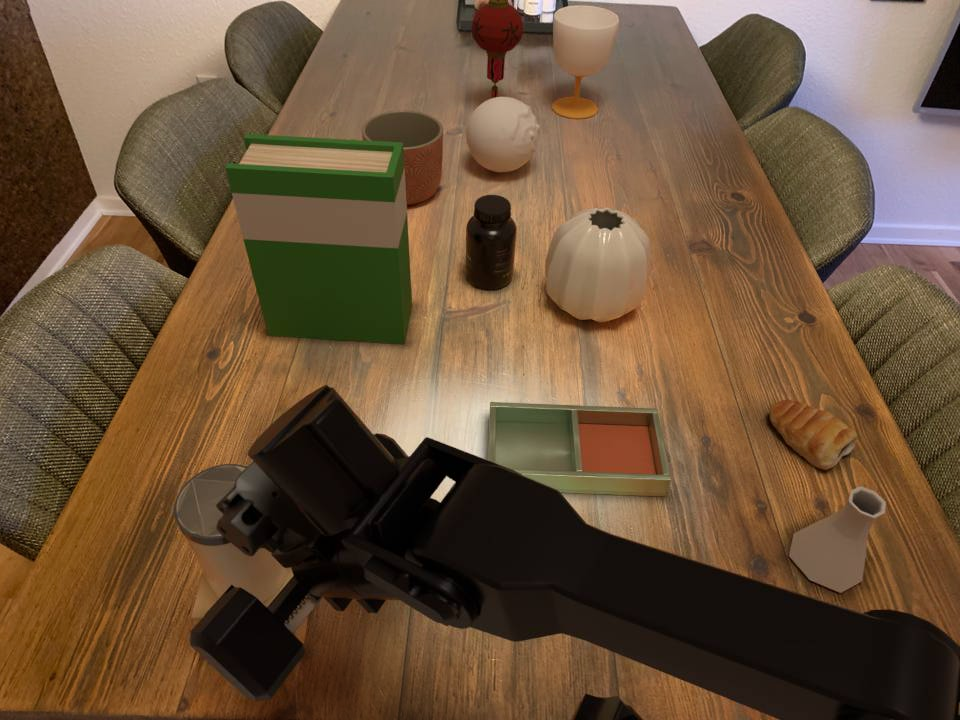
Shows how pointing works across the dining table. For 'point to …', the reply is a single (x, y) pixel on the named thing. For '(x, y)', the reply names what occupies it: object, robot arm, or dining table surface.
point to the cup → (582, 51)
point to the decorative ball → (502, 134)
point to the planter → (412, 148)
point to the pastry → (813, 432)
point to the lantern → (497, 35)
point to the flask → (838, 542)
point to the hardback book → (326, 236)
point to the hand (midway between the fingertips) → (272, 557)
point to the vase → (598, 264)
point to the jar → (212, 548)
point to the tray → (581, 447)
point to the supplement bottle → (490, 243)
